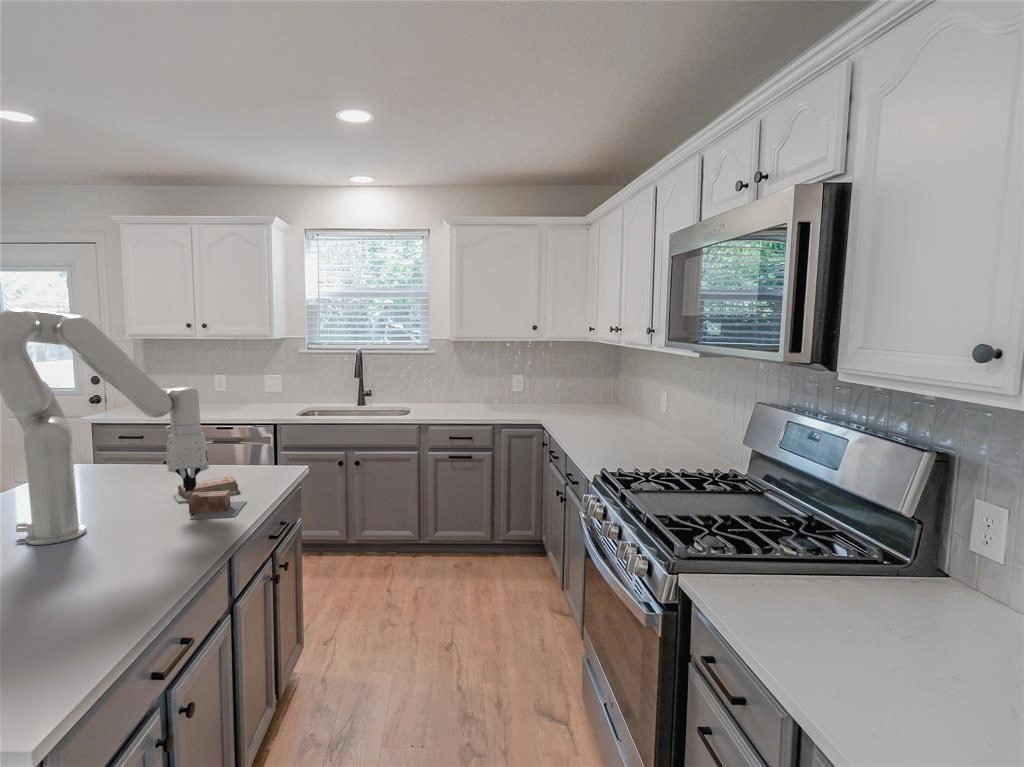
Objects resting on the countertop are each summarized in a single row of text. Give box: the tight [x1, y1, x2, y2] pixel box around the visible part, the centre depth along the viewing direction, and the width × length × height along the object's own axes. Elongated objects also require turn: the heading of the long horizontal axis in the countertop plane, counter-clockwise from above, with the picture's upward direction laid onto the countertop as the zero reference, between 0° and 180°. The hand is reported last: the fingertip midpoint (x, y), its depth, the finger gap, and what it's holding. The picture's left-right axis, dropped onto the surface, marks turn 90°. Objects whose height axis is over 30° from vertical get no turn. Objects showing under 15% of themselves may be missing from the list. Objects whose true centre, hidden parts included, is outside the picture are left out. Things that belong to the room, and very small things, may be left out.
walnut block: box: [188, 491, 231, 515], centre depth 171 cm, size 5×5×10 cm
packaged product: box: [172, 476, 241, 505], centre depth 188 cm, size 18×5×10 cm
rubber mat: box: [189, 500, 248, 521], centre depth 172 cm, size 12×14×1 cm
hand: (190, 489), depth 170 cm, fingers closed
